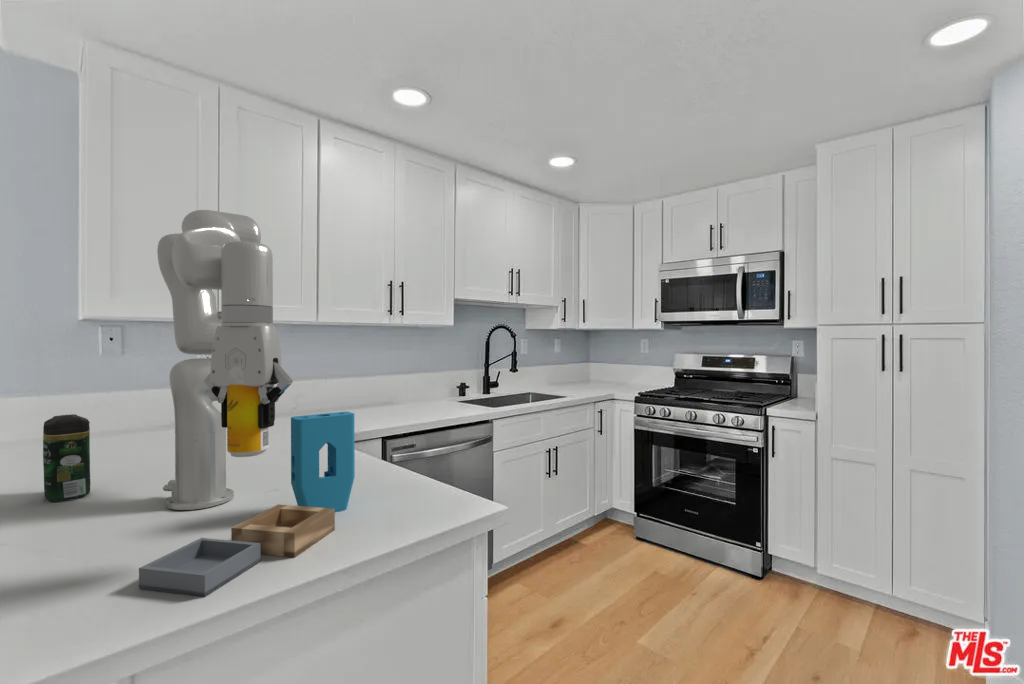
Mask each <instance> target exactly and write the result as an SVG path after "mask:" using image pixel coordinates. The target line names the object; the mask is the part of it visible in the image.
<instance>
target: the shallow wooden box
mask: <svg viewBox="0 0 1024 684" xmlns="http://www.w3.org/2000/svg"><path fill="white" fill-rule="evenodd" d="M335 517H336V512H335V509H332V508H319V507H306V506H298V505H289V504H276V505H274V506H272V507H271V508H269V509H267V510H264V511H262V512H260V513H258V514H256V515H254V516H252V517H250V518H248V519H246V520H245V521H244V520H243V521H242V522H240V523H237V524H236V525H234V526H232V527H231V529H230V530H231V531H230V532H231V533H230V534H231V536H230V537H231V540H232V541H242V542H253V543H260V554H261V555H265V556H266V555H267V556H275V557H285V558H286V557H287V558H296V557H298V556H300V555H301V554H302V553H304V552H305V551H306V550H308V549H309V548H311V547H312V546H313V545H315V544H317V543H318V542H319V541H321V540H322V539H324V538H325V537H327V536H328V535H329V534H331V533H333V532H334V531H335V529H336V526H335V525H336V524H335V523H336V520H335V519H336V518H335Z"/></svg>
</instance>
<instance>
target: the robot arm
mask: <svg viewBox="0 0 1024 684" xmlns="http://www.w3.org/2000/svg"><path fill="white" fill-rule="evenodd" d="M181 230H182V232H181V233H170V234H165V235H163V236H161V238H160V240H158V242H157V248H156V249H157V253H156V254H157V262H158V267H159V271H160V274H161V275H162V278H163V280H164V283H165V285H166V286H167V288H168V291H169V293H170V297H171V301H172V302H171V303H172V304H171V305H172V316H173V330H174V331H173V333H174V341H175V345H176V347H177V348H178V350H179V352H181V353H183V354H186V355H200V356H201V355H207V356H208V355H211V357H206V358H203V357H201V358H190V359H189V358H188V359H184V360H181V361H179V362H177V363H175V364H174V365H173V366H172V367H171V370H170V372H169V387H170V390H171V396H172V402H173V411H174V443H175V444H174V447H175V449H174V451H175V452H174V453H175V454H174V458H175V459H174V462H175V463H174V465H175V466H174V468H175V469H174V470H175V474H174V477H175V478H174V479H171V480H169V481H168V482H167V484H164V486H163V487H162V490H163V491H164V492H171V497H169V498H168V499H167V500H166V507H167V508H168V509H170V510H175V511H193V510H201V509H207V508H211V507H215V506H218V505H221V504H224V503H227V502H229V501H230V500H232V499H233V498H234V496H235V492H234V490H233V488H232V489H231V488H227V466H226V465H227V387H228V386H229V371H230V370H231V369H232V368H233V367H235V366H239V367H241V368H240V369H241V370H242V369H243V370H242V371H243V382H244V386H247V387H258V393H259V396H260V399H261V401H262V404H259V405H258V427H259V428H260V429H264V428H268V427H269V428H271V427H274V425H275V419H276V403H277V402H278V401H279V399H280V398H281V396H282V395H283V394H284V393H285V391H286V390H287V389H288V388H289V387H290V386H291V385H292V384H293V383H294V382H293V379H292V378H291V376H289V374H288V373H287V372H286V371H285V370H284V369H283V368H282V356H281V355H282V354H281V345H280V338H279V335H278V330H277V326H274V308H273V307H274V303H273V302H274V301H273V299H274V296H273V295H274V294H273V293H274V291H273V290H274V289H273V288H274V285H273V283H274V282H273V281H274V280H273V279H274V276H273V274H274V271H273V269H274V268H273V266H274V264H273V253H272V249H271V248H270V247H269V246H268V245H266V244H264V243H262V242H261V241H262V235H261V229H260V226H259V224H258V223H257V222H256V220H255V219H254V218H252V217H250V216H247V215H243V214H238V213H231V212H225V211H218V210H210V209H197V210H194V211H191V212H189V213H187V214H186V215H185V216H184V218H183V220H182V222H181ZM213 290H217V291H219V290H220V291H221V292H220V293H221V296H220V297H221V299H220V301H221V304H220V306H221V311H220V310H219V311H218V310H217V299H216V294H215V293H214V291H213ZM266 383H268V384H266ZM275 385H276V386H275ZM266 388H268V392H267V389H266ZM216 401H217V403H218V404H221V405H220V406H221V407H220V408H221V410H219V409H217V408H216V407H215V406H214V405H213V402H216Z"/></svg>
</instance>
